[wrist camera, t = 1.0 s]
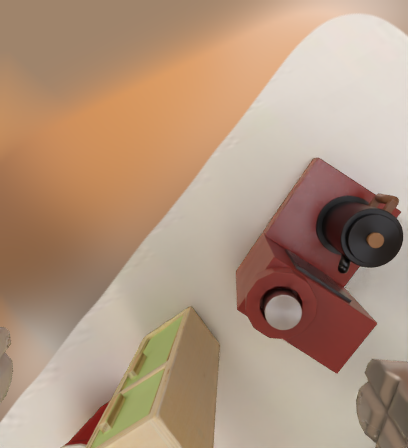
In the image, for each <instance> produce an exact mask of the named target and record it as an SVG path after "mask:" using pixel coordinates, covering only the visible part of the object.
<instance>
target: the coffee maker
mask: <svg viewBox="0 0 408 448" xmlns="http://www.w3.org/2000/svg"><path fill="white" fill-rule="evenodd" d="M336 284H337V285H338V286H339V287H340V288H341V289H342V290H343V291H344V292H345V294H346V295H347V296H348V297H349V298H350V299H351V300H352V301H351V302H350V303H349V302H347V301H346V300H344V299H343V298H341V297H340V296H338V295H337V294H335V293H333V292H332V291H330V290H329V289H327V288H326V287H324V286H323V285H321V284H320V283H318V282H316V281H315V280H313V279H312V278H310V277H309V276H307V275H306V274H304V273H303V272H301V271H299V270H298V269H296V268H295V266H294V265H293V263H292V261H291V260H290V258H289V257H288V255H287V253H286V252H285V249H284V248H283V247H281V246H280V245H278V244H277V243H275V242H274V241H272V240H270V239H269V238H267V237H266V236H265V235H264V233H262V234H261V235H260V237H259V238H258V240H257V241H256V243H255V244H254V246H253V247H252V248H251V250H250V251H249V253H248V254H247V256H246V257H245V259H244V260H243V262H242V263H241V264H240V266H239V267H238V269H237V270H236V290H237V310H238V311H240V312H241V313H243V314H245V315H246V316H248V318H249V320H250V322H251V324H252V326H253V327H254V328H255V329H256V330H258V331H259V332H261V333H263V334H264V335H266V336H267V337H269V338H278V339H284V340H285V341H287V342H288V343H290V344H291V345H293V346H294V347H296V348H298V349H299V350H301V351H302V352H304V353H305V354H307V355H308V356H310V357H312V358H313V359H315V360H316V361H318V362H319V363H321V364H322V365H324V366H326V367H327V368H329V369H330V370H332V371H333V372H335V373H338V372H339V371H340V369H341V368H342V367H343V366H344V364H345V363H346V362H347V361H348V359H349V358H350V357H351V356H352V354H353V353H354V352H355V351H356V349H357V348H358V347H359V346H360V345H361V343H362V342H363V341H364V340H365V338H366V337H367V336H368V335H369V333H370V332H371V331H372V330H373V328H374V327H375V326H376V325H377V322H376V321H375V320H374V319H373V318H372V317H371V316H370V315H369V314H368V313H367V312H366V311H365V310H364V308H363V307H362V306H361V305H360V304H359V303H358V302H357V301H356V300H355V299H354V298H353V297H352V296H351V294H350V293H349V292H348V291H347V290H346V289H345V288H344V287H343V286H342V285H340V284H338V283H337V282H336ZM277 288H285V289H288V290H290V291H291V292H293V293H294V294H295V296H296V297H297V299H298V301H299V303H300V305H301V308H302V317H301V319H300V321H299V323H298V324H297V325H296V326H294V327H293V328H291V329H287V330H279V329H276V328H274V327H272V326H271V325H270V324H269V323H268V322H267V320H266V318H265V314H264V309H263V301H264V298H265V296H266V295H267V294H268V293H269V292H270V291H272V290H274V289H277Z"/></svg>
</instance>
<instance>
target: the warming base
mask: <svg viewBox="0 0 408 448" xmlns="http://www.w3.org/2000/svg"><path fill="white" fill-rule="evenodd" d="M374 196H376V195H375V194H373V193H372V192H370V191H369V190H367V189H366V188H364V187H363V186H361V185H360V184H358V183H357V182H355V181H354V180H352V179H351V178H349V177H347V176H346V175H344V174H343V173H341V172H340V171H338V170H337V169H335V168H334V167H332V166H331V165H329V164H328V163H326V162H324V161H323V160H321V159H320V158H314V159H313V160H312V161H311V163H310V164H309V166H308V167H307V169H306V170H305V171H304V173H303V174H302V176H301V177H300V179H299V180H298V182H297V183H296V185H295V186H294V187H293V189H292V190H291V192H290V193H289V195H288V196H287V198H286V199H285V200H284V202H283V203H282V205H281V206H280V208H279V209H278V211H277V212H276V214H275V215H274V216H273V218H272V219H271V221H270V222H269V224H268V225H267V227H266V228H265V230H264V231H263V233H264V235H265V236H266V237H267V238H269V239H270V240H272V241H274V242H275V243H277V244H278V245H280V246H281V247H283V248H284V249H285V252H286V253H287V255H288V257H289V258H290V260H291V261H292V263H293V265H294V266H295V268H296V269H298V270H299V271H301V272H303V273H304V274H306V275H307V276H309V277H310V278H312V279H313V280H315V281H316V282H318V283H320V284H321V285H323V286H324V287H326V288H327V289H329V290H330V291H332V292H333V293H335V294H337V295H338V296H340V297H341V298H343V299H344V300H346V301H347V302H349V303H350V302H351V301H352V300H351V299H350V298H349V297H348V296H347V295H346V294H345V292H344V291H343V290H342V289H341V288H340V287H339V286H338V285H337V284H336V282H337V283H338V284H340V285H342V286H343V287H344V286H345V285H346V284H347V282H348V281H349V280H350V278H351V277H352V276H353V274H354V273H355V272H356V271H357V269H358V268H359V267H360V266H359V265H356V264H354V263H353V262H351V263H350V267H349V270H348V272H347V273H344V274H343V273H340V272H339V271H338V265H339V261H340V258H341V253H340V252H339V251H337V250H336V249H335V248H334V247H332V246H331V245H330V244H329V243H328V242H327V241H326V239H325V237H324V235H323V231H322V224H323V219H324V217H325V215H326V213H327V212H328V211H329V210H330V209H331V208H332V207H333V206H335V205H336V204H339V203H341V202H346V201H352V202H357V203H361V204H365V205H369V203H370V202H371V200H372V199H373V198H374ZM385 205H386V204H383V203H380V204H379V205H378V207H377V208H379V209H383V208H384V206H385ZM400 213H401V211H399V210H398V209H396V208H395V209H394V210H393V212H392V213H391V214H392V215H394V216H395V217H396V218H397V217H398V215H399V214H400Z"/></svg>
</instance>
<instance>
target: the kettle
mask: <svg viewBox="0 0 408 448" xmlns="http://www.w3.org/2000/svg"><path fill="white" fill-rule="evenodd" d="M380 203H383V204H386V205H385V206H384V208H383V209H379V208H377V207H378V205H379V204H380ZM398 203H399V199H398V198H397V197H395V196H390V195H384V194H377V195H376V196H374V198H373V199H372V200H371V202H370V203H369V205H365V204H361V203H357V202H352V201H346V202H341V203H339V204H336V205H335V206H333V207H332V208H331V209H330V210H329V211H328V212H327V213H326V215H325V217H324V219H323V224H322V231H323V235H324V237H325V239H326V241H327V242H328V243H329V244H330V245H331V246H332V247H334V248H335V249H336V250H337V251H339V252H340V253H341V258H340V261H339V265H338V271H339V272H340V273H343V274H344V273H347V272H348V270H349V267H350V263H351V262H353V263H354V264H356V265H359V266H362V267H367V268H372V267H378V266H382V265H384V264H386V263H388V262H389V261H391V260H392V259H393V258H394V257H395V256H396V255H397V254H398V252H399V250H400V248H401V246H402V242H403V231H402V227H401V225H400V223H399V221H398V220H397V218H396V217H395V216H394V215H392V214H391V213H392V212H393V210H394V209H395V208H396V206H397V205H398Z"/></svg>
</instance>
